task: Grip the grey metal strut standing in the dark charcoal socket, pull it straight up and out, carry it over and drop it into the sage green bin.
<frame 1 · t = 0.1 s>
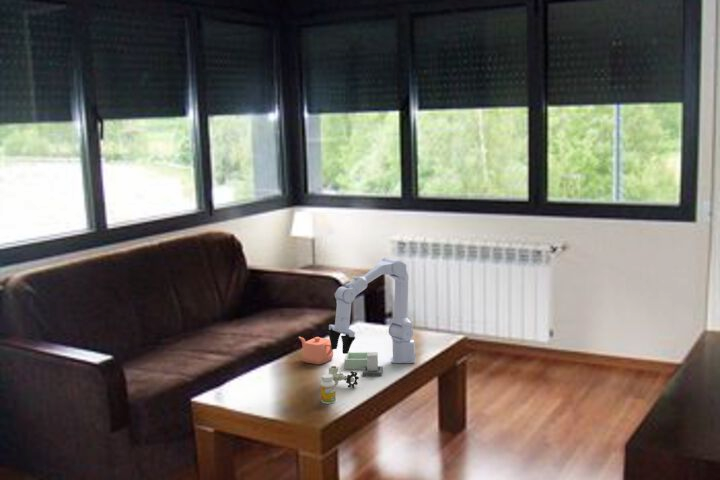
hand: (339, 351, 310), 11 cm above the table, tool pointing down, fingers open, 7 cm apart
valve: (341, 385, 302), on the table
supplement bottle: (328, 401, 285), on the table
teapot: (316, 361, 332), on the table
strut: (372, 363, 314), in the socket
socket: (372, 373, 314), on the table
bin: (357, 365, 325), on the table
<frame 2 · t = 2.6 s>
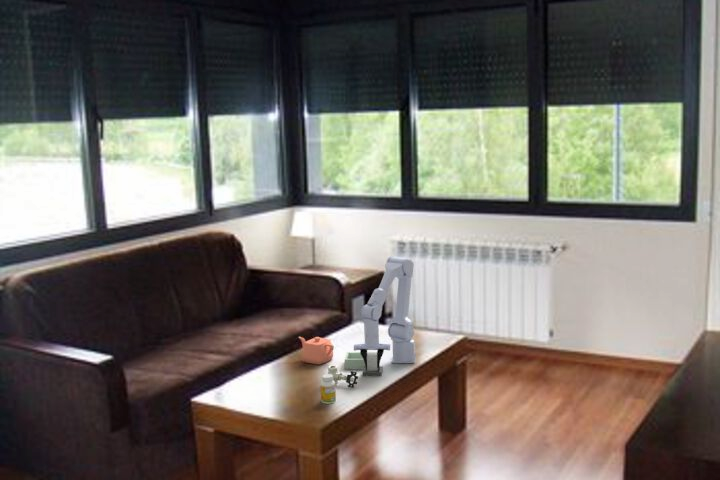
hand: (372, 367, 314), 2 cm above the table, tool pointing down, fingers closed on strut, 4 cm apart
strut: (372, 363, 314), in the socket, touching gripper
everything else where it was.
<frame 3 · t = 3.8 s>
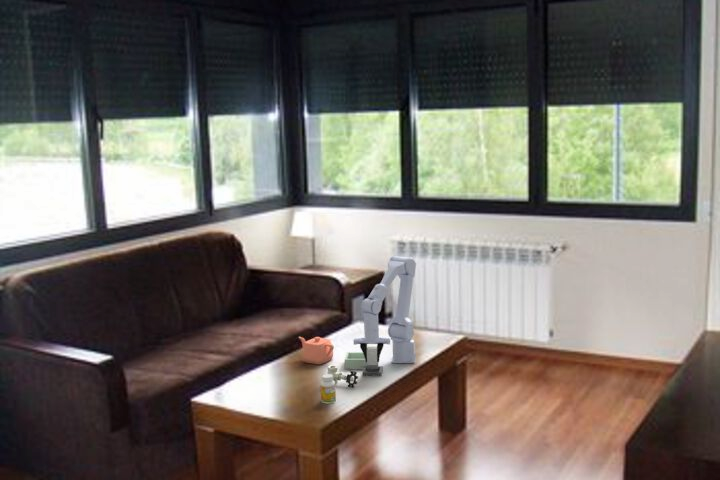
hand: (372, 361, 314), 5 cm above the table, tool pointing down, fingers closed on strut, 4 cm apart
strut: (372, 357, 313), point 6 cm above the table, touching gripper
everything else where it was.
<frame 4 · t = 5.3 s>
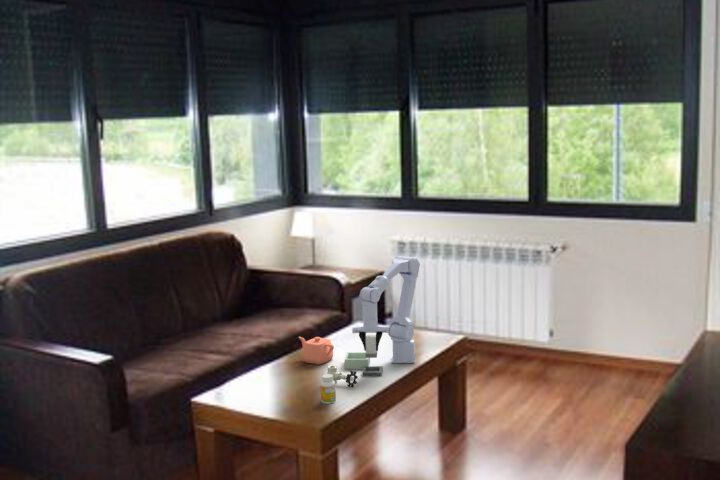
hand: (371, 350, 313), 9 cm above the table, tool pointing down, fingers closed on strut, 4 cm apart
strut: (371, 346, 313), point 11 cm above the table, touching gripper
everything else where it was.
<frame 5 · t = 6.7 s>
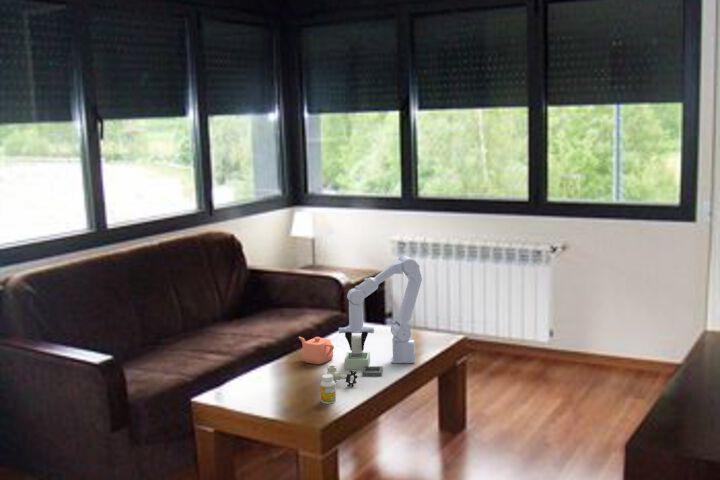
hand: (357, 349, 324), 7 cm above the table, tool pointing down, fingers closed on strut, 4 cm apart
strut: (356, 346, 323), point 8 cm above the table, touching gripper
when the fingers open (5 cm above the table, at t = 8.1 s): strut drops 1 cm, resting on bin.
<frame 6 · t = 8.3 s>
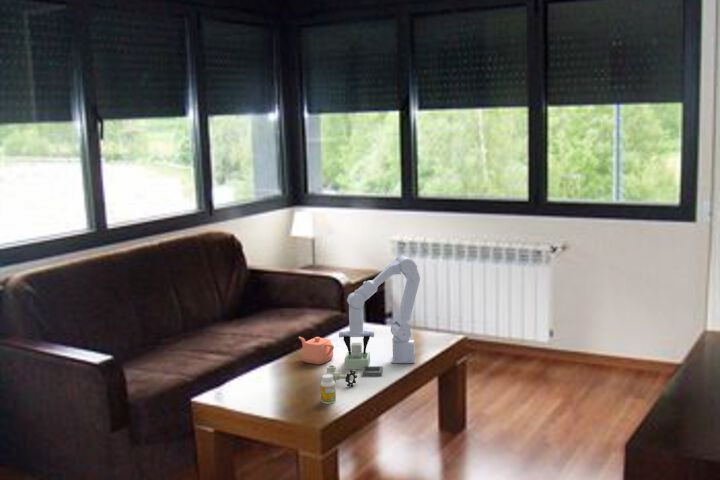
hand: (357, 353, 324), 5 cm above the table, tool pointing down, fingers open, 5 cm apart
strut: (356, 353, 324), in the bin, point 5 cm above the table
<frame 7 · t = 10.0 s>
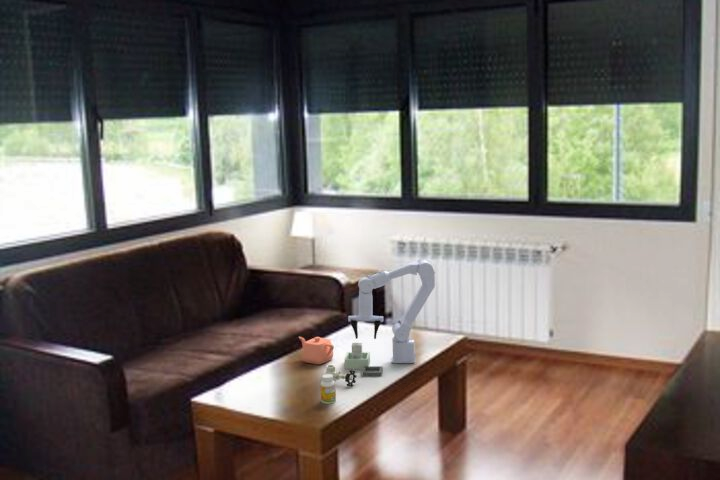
hand: (365, 338, 327), 10 cm above the table, tool pointing down, fingers open, 7 cm apart
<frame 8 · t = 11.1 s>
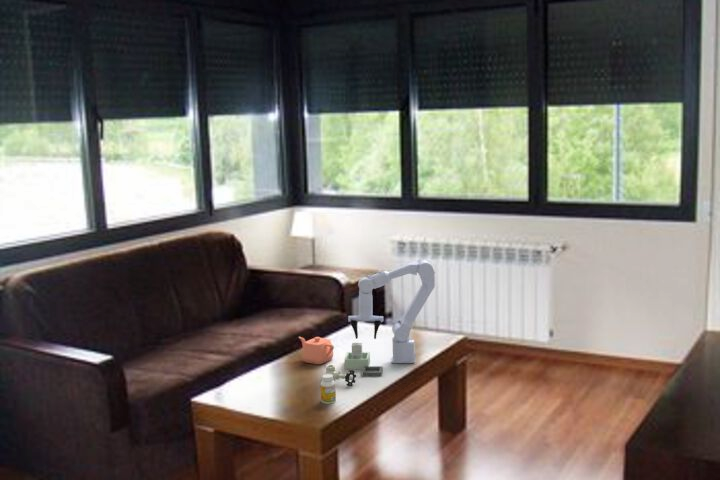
hand: (365, 338, 327), 10 cm above the table, tool pointing down, fingers open, 7 cm apart
at the end: strut 0.1 cm off-centre on the bin, point 5.0 cm above the bin's base; the gripper is holding nothing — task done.
